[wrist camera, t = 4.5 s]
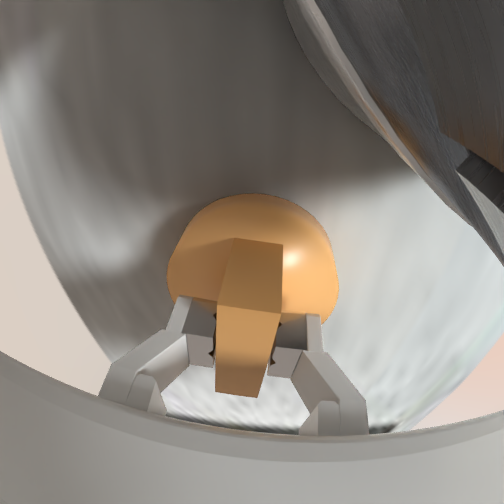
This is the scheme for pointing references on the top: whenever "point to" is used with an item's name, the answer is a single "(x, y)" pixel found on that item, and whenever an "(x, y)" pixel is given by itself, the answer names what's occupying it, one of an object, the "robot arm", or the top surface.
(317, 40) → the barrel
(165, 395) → the top surface
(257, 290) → the cap
